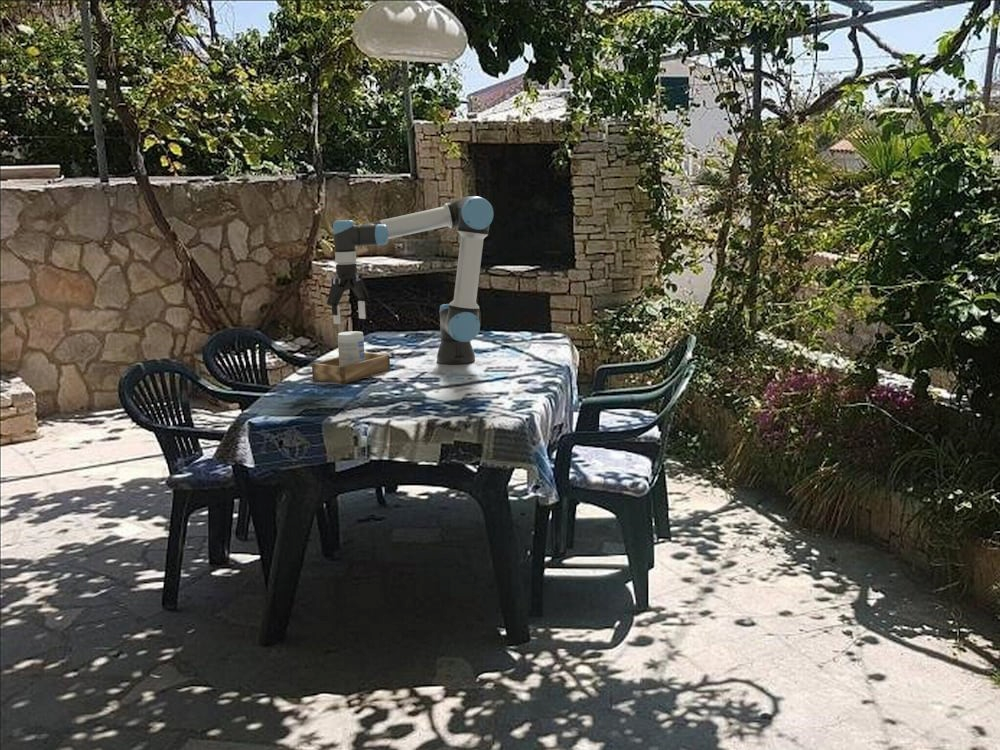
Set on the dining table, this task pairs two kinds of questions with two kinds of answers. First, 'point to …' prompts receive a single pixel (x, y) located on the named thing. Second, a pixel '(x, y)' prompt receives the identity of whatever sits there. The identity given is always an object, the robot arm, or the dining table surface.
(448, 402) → the dining table surface
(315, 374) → the walled box
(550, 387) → the dining table surface
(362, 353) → the supplement tub
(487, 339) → the dining table surface
